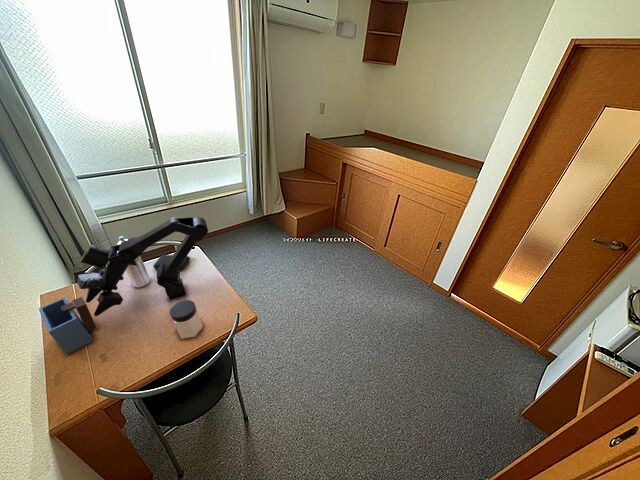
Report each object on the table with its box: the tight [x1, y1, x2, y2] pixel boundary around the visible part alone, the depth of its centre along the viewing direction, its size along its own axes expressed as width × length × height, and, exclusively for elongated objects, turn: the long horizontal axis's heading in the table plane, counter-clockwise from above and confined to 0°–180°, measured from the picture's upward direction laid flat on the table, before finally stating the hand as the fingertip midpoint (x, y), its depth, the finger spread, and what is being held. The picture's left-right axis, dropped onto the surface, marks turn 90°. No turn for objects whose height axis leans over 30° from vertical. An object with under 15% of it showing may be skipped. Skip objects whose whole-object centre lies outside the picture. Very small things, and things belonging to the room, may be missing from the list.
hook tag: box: [61, 296, 97, 332], centre depth 90 cm, size 6×5×12 cm
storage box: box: [38, 296, 94, 355], centre depth 88 cm, size 7×14×12 cm, turn 51°
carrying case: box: [152, 254, 191, 271], centre depth 125 cm, size 11×3×15 cm
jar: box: [169, 299, 203, 340], centre depth 93 cm, size 9×8×12 cm
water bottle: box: [115, 235, 151, 288], centre depth 108 cm, size 7×7×25 cm
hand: (91, 308), depth 92 cm, fingers open, 9 cm apart
